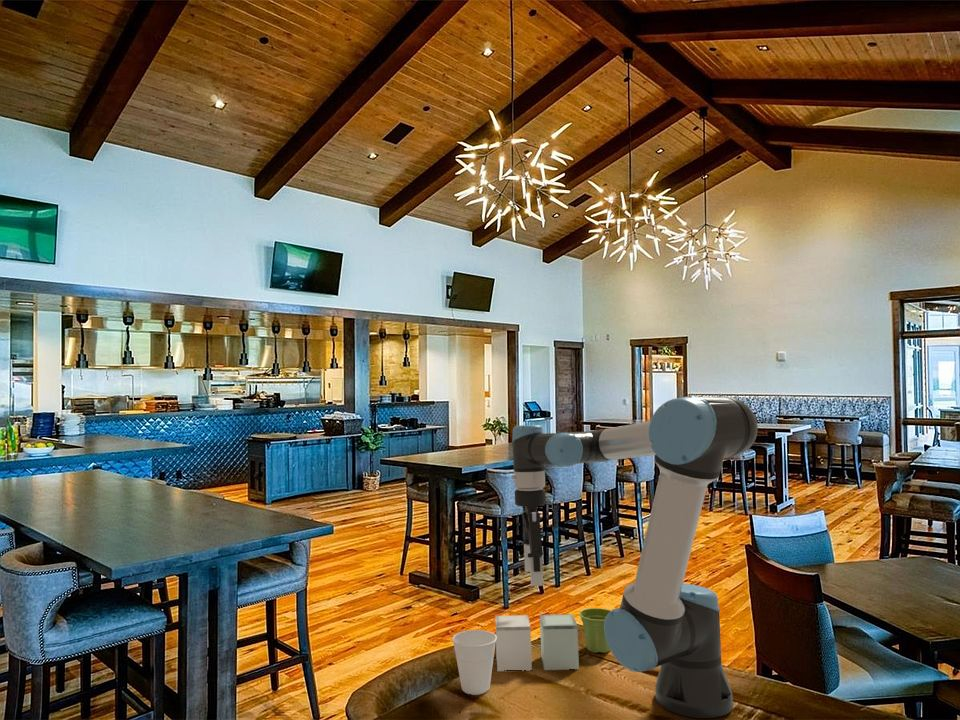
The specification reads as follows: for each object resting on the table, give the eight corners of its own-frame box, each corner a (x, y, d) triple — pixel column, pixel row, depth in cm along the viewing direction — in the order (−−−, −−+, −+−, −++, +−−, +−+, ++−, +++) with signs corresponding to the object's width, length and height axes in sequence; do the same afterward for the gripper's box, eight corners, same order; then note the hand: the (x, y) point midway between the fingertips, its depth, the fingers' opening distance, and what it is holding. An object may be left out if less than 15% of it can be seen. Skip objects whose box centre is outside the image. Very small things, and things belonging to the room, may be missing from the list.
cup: (499, 679, 142) (498, 629, 143) (496, 700, 132) (495, 646, 133) (456, 679, 143) (455, 629, 144) (449, 699, 133) (448, 645, 134)
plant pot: (596, 639, 165) (595, 605, 166) (626, 649, 158) (624, 613, 159) (572, 648, 159) (571, 613, 160) (601, 659, 152) (600, 622, 153)
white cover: (531, 670, 147) (530, 626, 147) (497, 671, 147) (496, 627, 147) (529, 656, 155) (527, 615, 155) (496, 657, 155) (495, 615, 155)
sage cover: (578, 669, 147) (577, 625, 148) (544, 670, 147) (543, 626, 147) (573, 655, 155) (572, 614, 155) (541, 656, 155) (540, 614, 155)
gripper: (510, 483, 166) (513, 566, 164) (519, 495, 141) (523, 593, 139) (538, 482, 166) (542, 565, 164) (552, 494, 141) (557, 591, 139)
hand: (533, 578), depth 152 cm, fingers open, 13 cm apart
